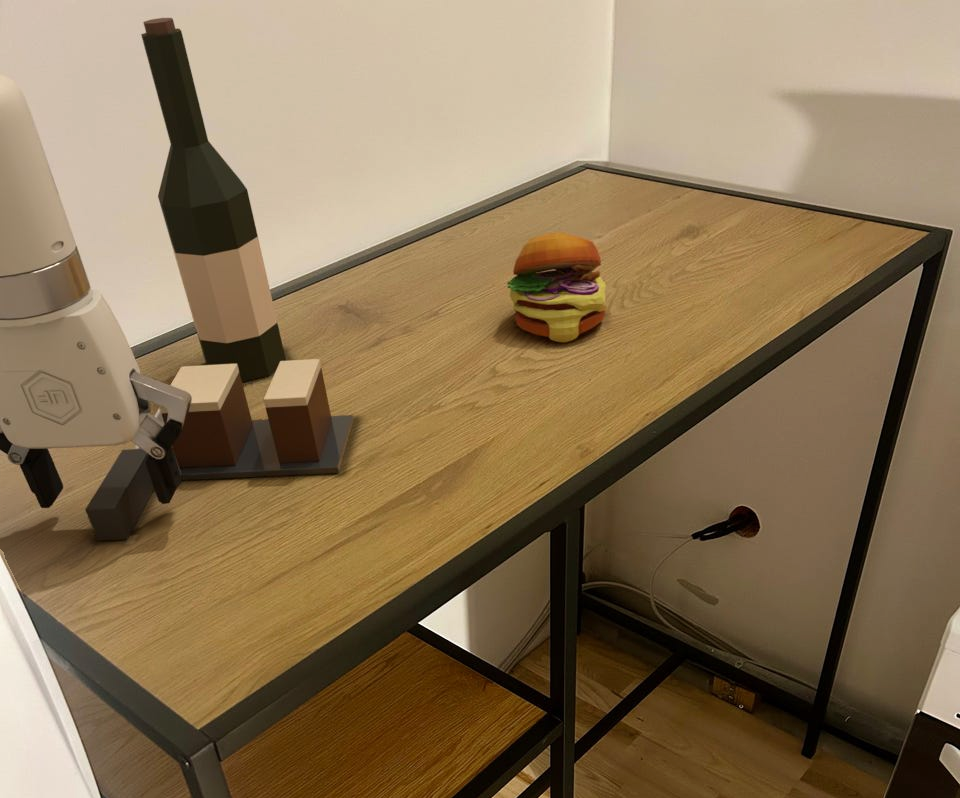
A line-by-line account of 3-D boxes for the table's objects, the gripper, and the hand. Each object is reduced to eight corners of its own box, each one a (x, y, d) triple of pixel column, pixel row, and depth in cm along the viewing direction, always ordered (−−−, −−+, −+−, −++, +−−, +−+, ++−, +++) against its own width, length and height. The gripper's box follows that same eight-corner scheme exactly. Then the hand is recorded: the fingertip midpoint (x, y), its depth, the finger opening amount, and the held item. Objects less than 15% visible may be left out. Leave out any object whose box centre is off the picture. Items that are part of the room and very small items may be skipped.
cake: (178, 468, 82) (157, 404, 78) (200, 427, 87) (181, 366, 83) (235, 465, 81) (217, 401, 77) (253, 425, 87) (237, 363, 83)
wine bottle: (278, 380, 94) (195, 25, 74) (196, 385, 95) (92, 34, 75) (293, 344, 100) (219, 7, 81) (216, 349, 101) (124, 16, 81)
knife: (127, 540, 75) (114, 508, 73) (98, 541, 75) (84, 509, 73) (188, 426, 89) (179, 397, 87) (163, 427, 89) (153, 398, 87)
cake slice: (279, 463, 81) (263, 399, 77) (294, 422, 86) (279, 360, 82) (319, 461, 81) (305, 396, 77) (332, 420, 86) (319, 358, 82)
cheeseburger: (513, 349, 95) (504, 242, 90) (509, 331, 104) (501, 233, 100) (614, 339, 95) (611, 230, 90) (602, 321, 104) (598, 222, 99)
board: (166, 481, 81) (164, 475, 81) (194, 428, 88) (192, 422, 88) (338, 473, 80) (337, 467, 80) (353, 420, 87) (352, 414, 87)
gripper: (-119, 313, 63) (-12, 527, 74) (135, 299, 61) (204, 519, 73) (-66, 270, 68) (26, 475, 80) (168, 257, 67) (228, 467, 78)
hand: (111, 496), depth 76 cm, fingers open, 9 cm apart
